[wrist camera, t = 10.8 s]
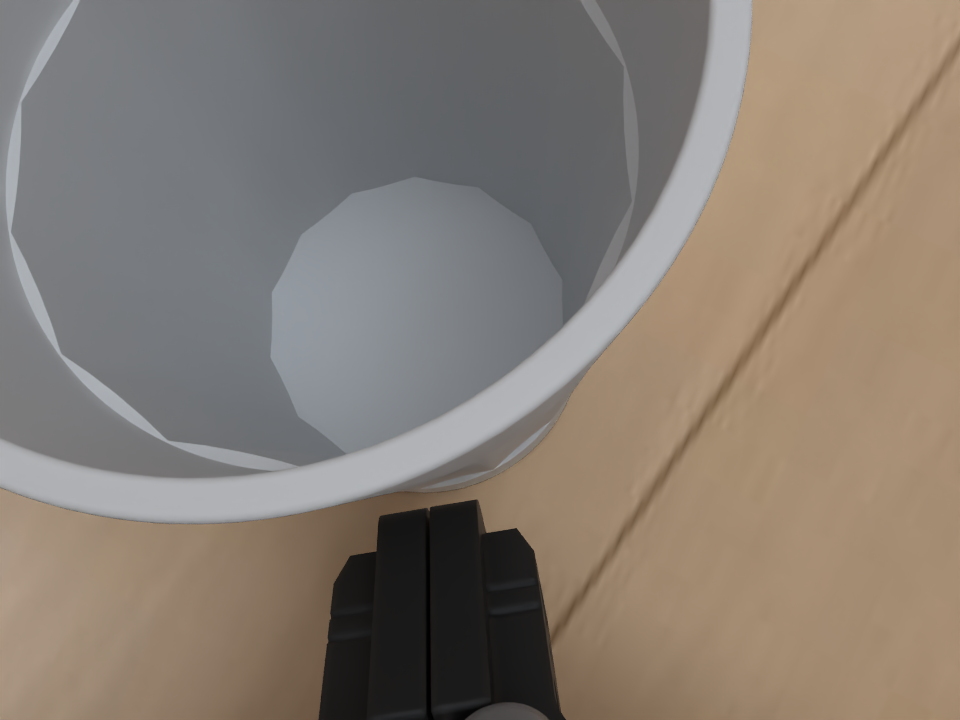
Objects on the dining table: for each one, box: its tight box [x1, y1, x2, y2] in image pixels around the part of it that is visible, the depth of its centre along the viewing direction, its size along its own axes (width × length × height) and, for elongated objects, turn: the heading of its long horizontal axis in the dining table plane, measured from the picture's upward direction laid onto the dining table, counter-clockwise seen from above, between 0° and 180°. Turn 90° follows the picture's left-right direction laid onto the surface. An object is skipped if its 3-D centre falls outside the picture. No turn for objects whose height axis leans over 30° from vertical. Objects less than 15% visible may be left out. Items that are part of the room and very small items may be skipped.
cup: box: [0, 0, 752, 524], centre depth 13 cm, size 8×8×12 cm
